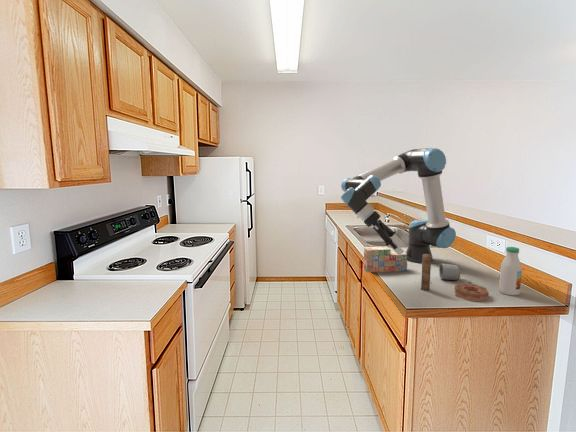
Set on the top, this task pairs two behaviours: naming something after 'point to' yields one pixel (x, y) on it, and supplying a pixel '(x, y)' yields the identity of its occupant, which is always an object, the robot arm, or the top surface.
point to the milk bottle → (510, 273)
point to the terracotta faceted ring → (471, 292)
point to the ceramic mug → (449, 272)
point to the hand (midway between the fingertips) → (402, 249)
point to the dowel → (426, 272)
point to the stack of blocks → (383, 260)
